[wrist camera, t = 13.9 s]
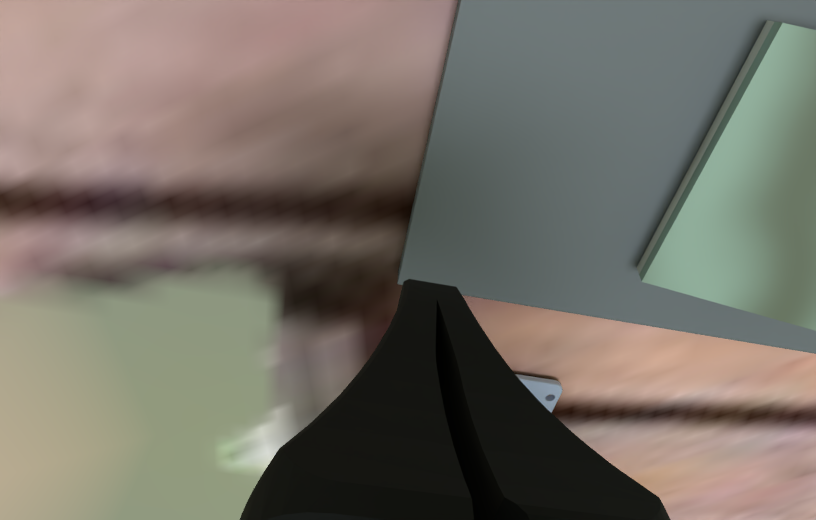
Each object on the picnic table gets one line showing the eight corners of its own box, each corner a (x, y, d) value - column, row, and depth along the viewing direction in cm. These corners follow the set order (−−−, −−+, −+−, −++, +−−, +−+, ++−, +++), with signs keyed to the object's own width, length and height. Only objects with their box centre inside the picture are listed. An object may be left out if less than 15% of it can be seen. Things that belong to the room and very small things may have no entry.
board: (820, 343, 25) (834, 356, 24) (398, 271, 23) (397, 284, 22) (1115, -5, 17) (1152, -3, 16) (495, -165, 15) (499, -172, 14)
